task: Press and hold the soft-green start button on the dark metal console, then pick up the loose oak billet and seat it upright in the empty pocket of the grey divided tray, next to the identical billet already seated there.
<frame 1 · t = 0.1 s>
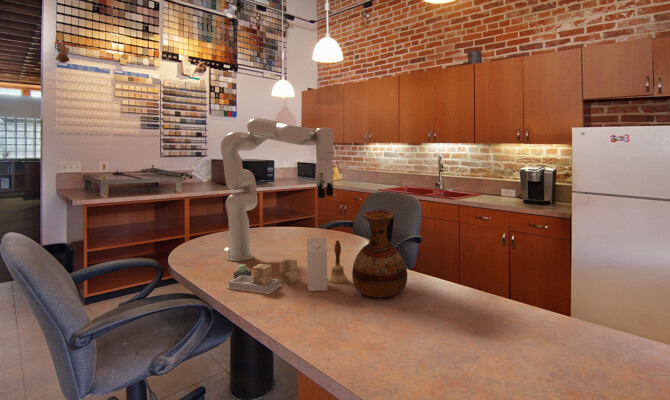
hand: (325, 196, 171), 31 cm above the table, fingers open, 9 cm apart
milk carton: (317, 288, 148), on the table
grey divided tray: (254, 287, 149), on the table
console: (242, 278, 160), on the table
hand bell: (337, 280, 157), on the table
start button: (242, 270, 159), point 3 cm above the table, slide at 0.0 cm
oak billet: (288, 280, 157), on the table
ceramic pitcher: (379, 292, 143), on the table
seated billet: (263, 288, 148), resting on grey divided tray
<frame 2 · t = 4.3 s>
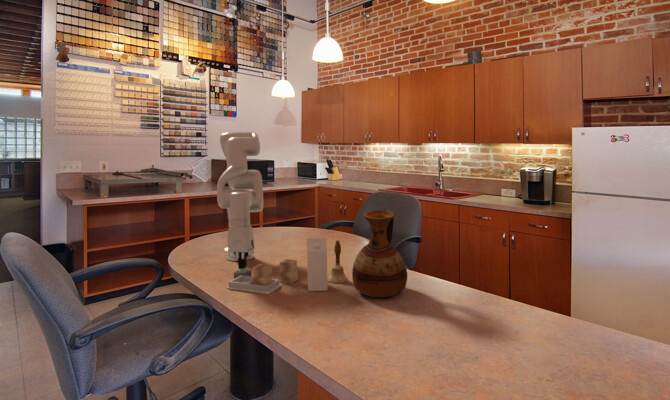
hand: (242, 267, 159), 5 cm above the table, fingers closed
start button: (242, 272, 160), point 3 cm above the table, slide at 0.9 cm, touching gripper
everything else where it was.
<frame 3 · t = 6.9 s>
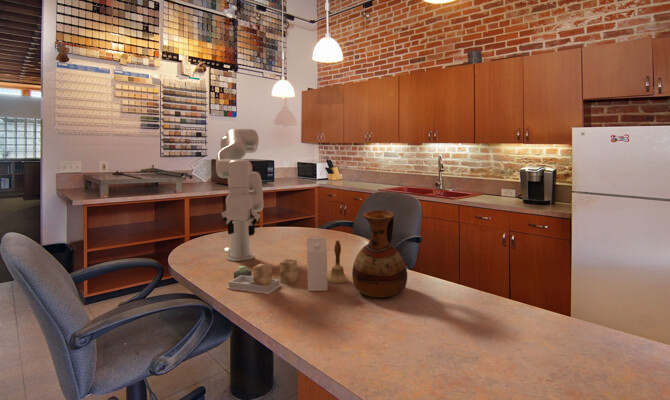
hand: (241, 234, 158), 18 cm above the table, fingers open, 9 cm apart
start button: (242, 271, 160), point 3 cm above the table, slide at 0.6 cm
everything else where it was.
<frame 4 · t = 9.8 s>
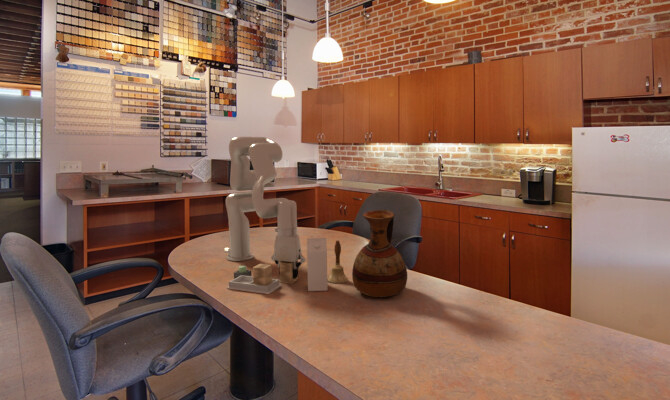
hand: (288, 276, 156), 2 cm above the table, fingers closed on oak billet, 5 cm apart
oak billet: (288, 280, 156), on the table, touching gripper
everything else where it was.
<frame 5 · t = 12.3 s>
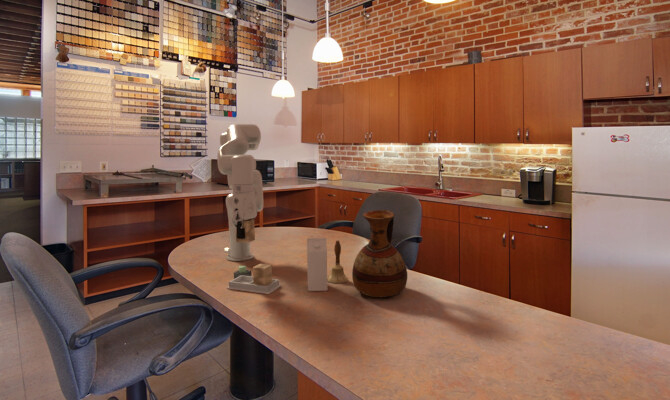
hand: (245, 236, 149), 19 cm above the table, fingers closed on oak billet, 5 cm apart
oak billet: (245, 240, 149), point 18 cm above the table, touching gripper
everything else where it was.
when the fingers open (4 cm above the table, at t = 15.1 s): oak billet drops 1 cm, resting on grey divided tray.
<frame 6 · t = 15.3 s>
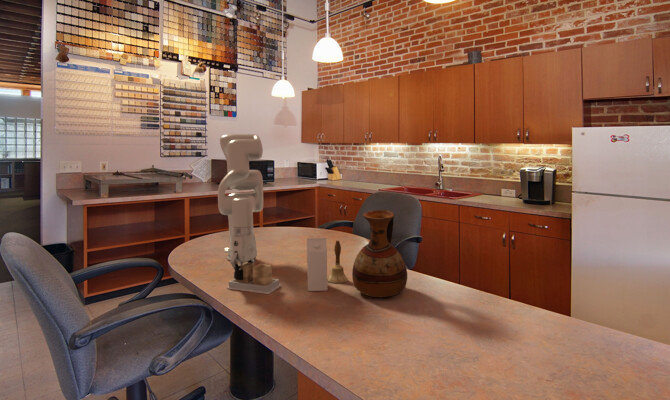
hand: (245, 276, 150), 4 cm above the table, fingers open, 7 cm apart
oak billet: (245, 284, 151), point 1 cm above the table, touching grey divided tray
everything else where it was.
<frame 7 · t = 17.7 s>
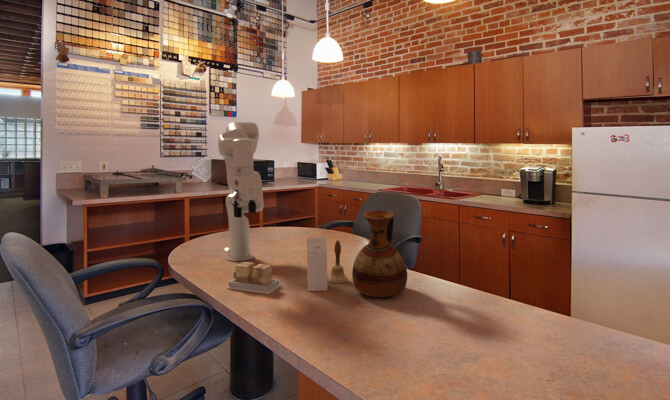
hand: (245, 214, 155), 26 cm above the table, fingers open, 9 cm apart
nothing on the table moved.
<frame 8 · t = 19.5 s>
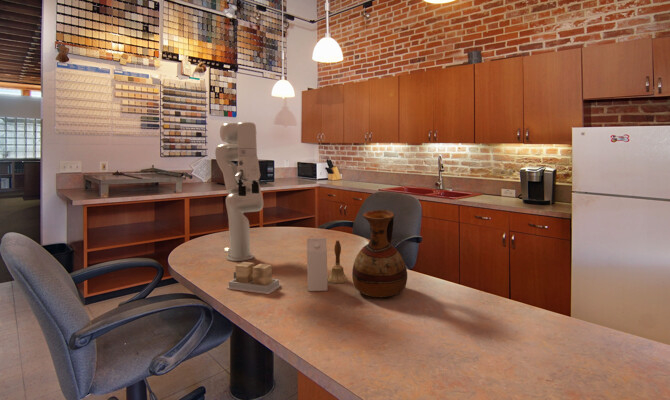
hand: (249, 194, 164), 33 cm above the table, fingers open, 9 cm apart
nothing on the table moved.
at the end: oak billet 0.2 cm from the target spot on the grey divided tray, point 0.6 cm above the grey divided tray's base; oak billet tilted 0°; the gripper is holding nothing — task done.
